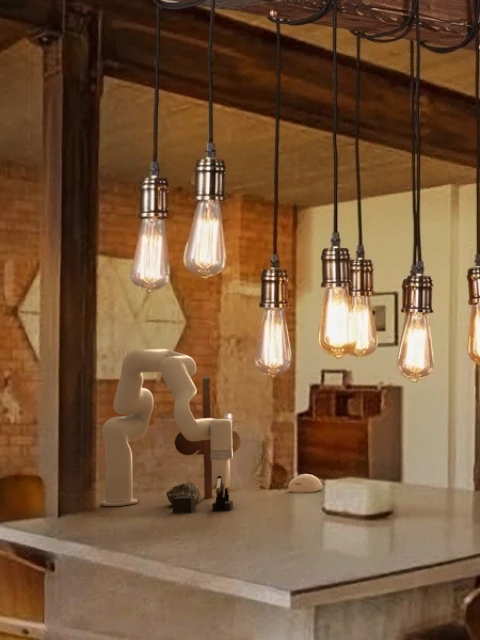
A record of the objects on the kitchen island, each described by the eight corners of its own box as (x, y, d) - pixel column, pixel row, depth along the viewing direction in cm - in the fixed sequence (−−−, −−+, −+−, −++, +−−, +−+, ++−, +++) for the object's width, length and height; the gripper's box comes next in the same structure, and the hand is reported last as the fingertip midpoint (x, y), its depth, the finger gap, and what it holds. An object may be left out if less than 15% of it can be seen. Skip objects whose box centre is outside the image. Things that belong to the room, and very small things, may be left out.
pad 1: (177, 503, 377) (177, 496, 377) (194, 502, 377) (194, 495, 377) (173, 505, 371) (173, 498, 371) (191, 505, 371) (190, 497, 371)
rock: (200, 499, 384) (181, 478, 385) (179, 518, 383) (160, 497, 383) (206, 493, 402) (188, 473, 403) (186, 511, 401) (168, 490, 402)
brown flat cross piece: (242, 496, 406) (239, 375, 410) (239, 498, 402) (236, 376, 407) (178, 497, 410) (176, 377, 414) (174, 498, 406) (172, 378, 411)
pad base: (176, 510, 377) (176, 503, 377) (195, 509, 377) (195, 502, 377) (172, 513, 371) (172, 506, 371) (191, 512, 370) (191, 505, 371)
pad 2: (215, 508, 378) (215, 501, 379) (232, 507, 378) (232, 500, 379) (212, 511, 372) (212, 503, 373) (229, 510, 372) (229, 503, 373)
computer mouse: (292, 489, 421) (292, 473, 422) (324, 489, 418) (323, 473, 418) (286, 491, 415) (286, 475, 416) (318, 491, 412) (318, 475, 412)
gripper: (215, 452, 386) (216, 504, 384) (206, 458, 369) (206, 512, 367) (236, 452, 386) (237, 503, 384) (228, 457, 369) (229, 511, 367)
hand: (222, 507), depth 376 cm, fingers closed on pad 2, 6 cm apart
